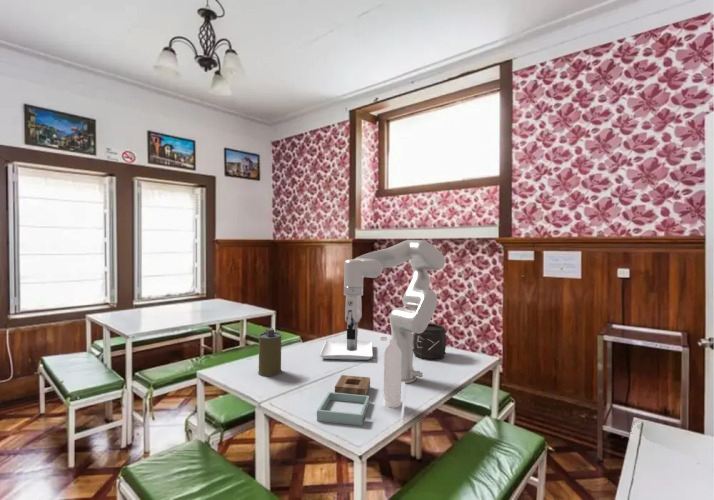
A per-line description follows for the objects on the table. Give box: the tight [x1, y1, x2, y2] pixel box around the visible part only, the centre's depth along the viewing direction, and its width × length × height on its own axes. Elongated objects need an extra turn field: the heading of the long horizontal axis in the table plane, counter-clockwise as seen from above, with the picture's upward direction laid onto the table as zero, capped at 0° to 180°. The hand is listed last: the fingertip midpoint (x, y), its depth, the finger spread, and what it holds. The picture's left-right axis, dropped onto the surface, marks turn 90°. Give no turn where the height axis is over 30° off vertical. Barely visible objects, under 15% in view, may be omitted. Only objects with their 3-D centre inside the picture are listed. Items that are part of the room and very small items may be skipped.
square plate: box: [318, 339, 374, 361], centre depth 200 cm, size 27×27×4 cm
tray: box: [316, 391, 370, 427], centre depth 132 cm, size 16×16×4 cm
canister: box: [257, 327, 283, 377], centre depth 170 cm, size 11×10×20 cm
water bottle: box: [379, 336, 402, 409], centre depth 138 cm, size 9×6×25 cm
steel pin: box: [344, 319, 361, 351], centre depth 144 cm, size 6×6×12 cm
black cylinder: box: [412, 322, 447, 361], centre depth 198 cm, size 18×18×16 cm
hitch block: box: [334, 374, 371, 396], centre depth 147 cm, size 12×12×5 cm
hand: (352, 337), depth 144 cm, fingers closed on steel pin, 4 cm apart
